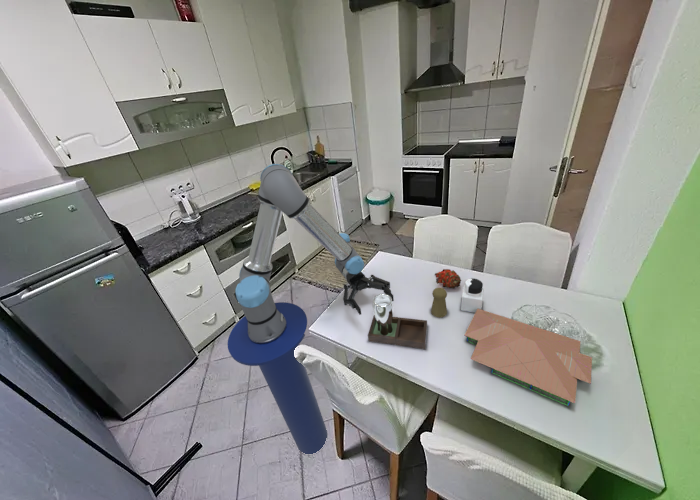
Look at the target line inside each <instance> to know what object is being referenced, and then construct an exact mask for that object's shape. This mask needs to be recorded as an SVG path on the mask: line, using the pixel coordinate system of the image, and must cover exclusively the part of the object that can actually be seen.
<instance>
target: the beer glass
mask: <svg viewBox="0 0 700 500" xmlns="http://www.w3.org/2000/svg"><path fill="white" fill-rule="evenodd" d="M372 308H373V316H374V315H375V318H376V321H377V325H378V327H377V332H378V334H379V335H385V336H390V335H392V334H393V331H394V329H393V326H392V319H393V317H394V304H393V301H392V298H391V297H390V296H389V295H387V294H385V293H379V294H377V295H375V296H374V297H373V299H372Z"/></svg>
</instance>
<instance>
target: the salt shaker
mask: <svg viewBox="0 0 700 500" xmlns="http://www.w3.org/2000/svg"><path fill="white" fill-rule="evenodd" d="M431 294H432V297H433V300H432V304H431V309H430V314H431V316H433V317H435V318H441V319H442V318H445V317H446V316H447V315H448V309H447V301H446V300H447V296H448V292H447V290H446V289H445V288H444V287H439V286H438V287H435V288H434V289H433V290H432V293H431Z"/></svg>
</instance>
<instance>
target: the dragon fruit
mask: <svg viewBox="0 0 700 500" xmlns="http://www.w3.org/2000/svg"><path fill="white" fill-rule="evenodd" d="M434 276H435V278H436V281H435V282H436V284H437V285H438V284H442V288H443V289H445V288H446V289H455V288H459V287H461V282H462V279H461V276H460V275H459V274H458V273H457V272H456V271H455V270H454V269H452V270H451V269H449V268H446V269H445V268H443V269H442V270H440V271H438V272H435V273H434Z"/></svg>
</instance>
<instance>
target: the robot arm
mask: <svg viewBox="0 0 700 500" xmlns="http://www.w3.org/2000/svg"><path fill="white" fill-rule="evenodd" d="M261 171H262V172H261V173H260V177H259V179H260V185H259V189H258V194H257V199H258V201H259V202H260V205H259V210H258V214H257V219H256V222H255V227H254V231H253V236H252V241H251V244H250V249H249V254H248V257H246V258H244V259H243V261H242V262H243V263H242V265H241V268H240V269H239V275H238V276H239V278H238V279H239V283H237V285H236V286H235V289H234V290H235V293H234V294H235V297H236V300H237V302H238V303H239V305H240V308H241V311H242V312H243V315H244V316H245V317H246V319H247V321H248V335H249V338H250V340H251V341H252V342H254V343H256V344H267V343H270V342H272V341H274V340H276V339H278V338H279V337H280V336H281V335H282V334H283V333H284V331H285V330H286V326H287V323H286V320H285V318H284V316H283V314H282V313H280V312H279V311H278V310H277V308H276V306H275V303H276V302H275V300H274V298H273V295H272V289H271V283H270V281H271V280H270V279H271V274H272V272H273V271H272V270H273V267H274V266H273V263H271V260H272V256H273V252H274V248H275V244H276V240H277V236H278V232H279V228H280V225H281V220H282V216H283V214H284V215H286V216H287V218H289V219H294V220H295V221H296V222H297V223H298V224H299V225H300V226H301V227H302V228H303V229H305V230H306V231H307V232H308V233H309V235H311V236H312V237H313V238H314V239H315V240H316V241H317V242H318V243H319V244H320V245H321V246H322V247H324V248H325V249H326V251H327V252H328V253H330V254H331V255H332V257H334V265H335V267H336V269H337V270H338V271H339V273H340V274H341V275H342V277H343V278H344V279H345V281H346V282H347V284H343V297H342V301H343V305H344V306H347V305H348V306H349V307H351V309H352V310H356V312H357V314H358V315H359V316H360V315H362V309H361V307H360V305H359V303H358V302H357V301H356V299H355V298H356V295H357V294H358V293H359V292H360V291H363V290H366V289H375V290H380V291H383V294H387V295H389V296H390V297H391V298H392V302H394V298H395V297H394V294H393V293H392V290H391V289H390V288H391V282H390V281H388V280H385V279H382V278H379V277H377V276H375V275H374V274H370V276H369V277H367V276H366V275H365V274H364V273H363V270H364V268H365V262H364V260H363V257H361V255H360V254H359V253H358V251H356V249H355V248H354V247H353V244H351V239H350V235H349V234H348V233H346V232H345V233H344V232H340V233H339V232H338V231H337V230H336V229H335V228H334V227H333V226H332V225H331V224H330V223H329V222H328V221H327V219H326V218H325V217H324V216H323V215H321V213H320V212H319V211H318V210H317V209H316V208H315V207H314V206H313V204H311V203H310V202H311V201H310V197H309V196H307V195H306V193H305V192H304V191H303V189H302V187H301V186H300V185H299V183H298V181H297V179H296V177H294V175H293V173H292V171H291V170H290V169H289V167H287V166H285V165H283V164H280V163H272V164H269V165H267V166H265V168H264V169H263V170H261ZM350 290H351V291H350ZM349 292H350V294H349Z"/></svg>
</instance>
